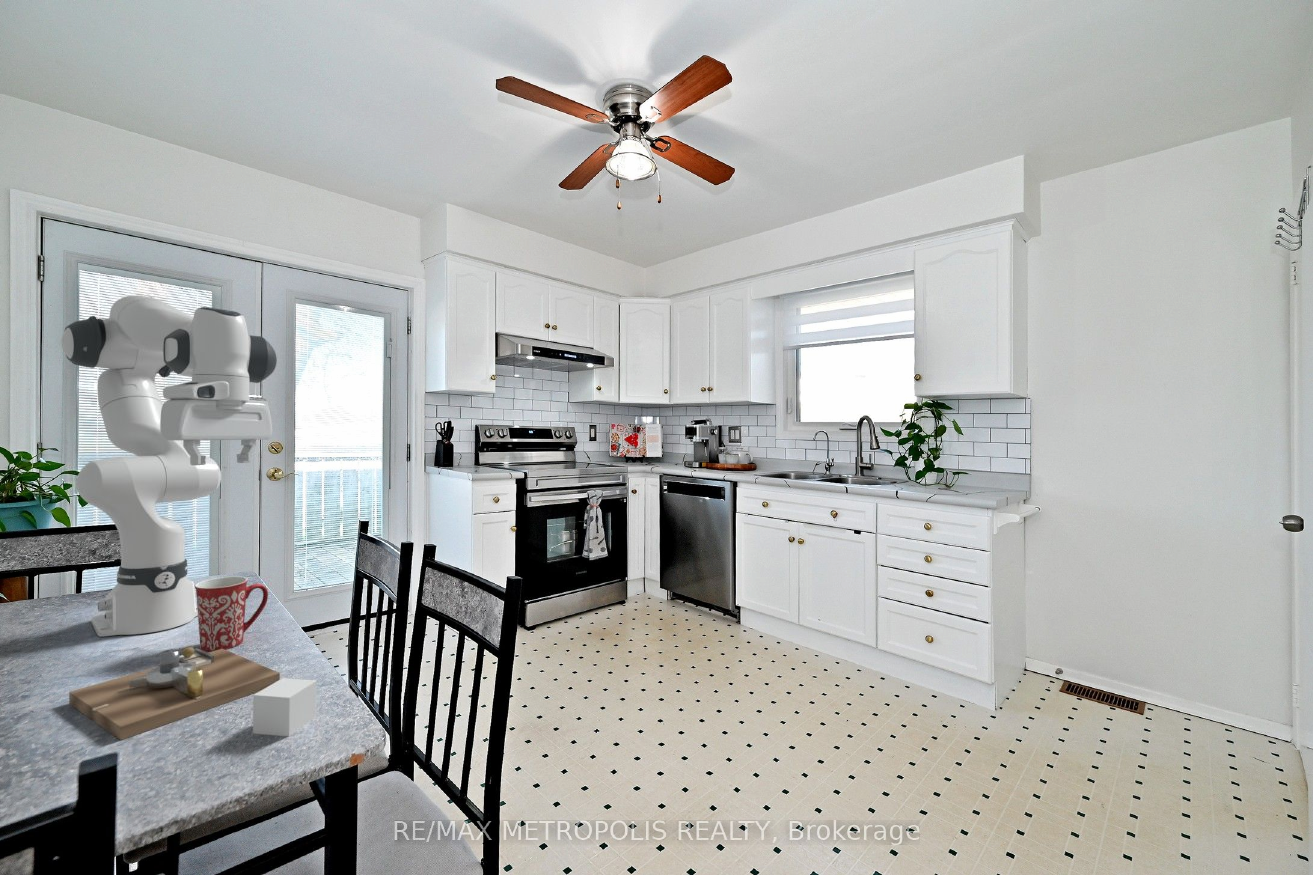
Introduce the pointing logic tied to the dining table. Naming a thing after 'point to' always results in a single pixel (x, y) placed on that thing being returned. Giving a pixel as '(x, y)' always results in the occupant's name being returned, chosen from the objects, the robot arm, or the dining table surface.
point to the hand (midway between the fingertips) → (221, 464)
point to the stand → (170, 693)
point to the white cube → (284, 707)
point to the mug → (224, 611)
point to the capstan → (173, 675)
